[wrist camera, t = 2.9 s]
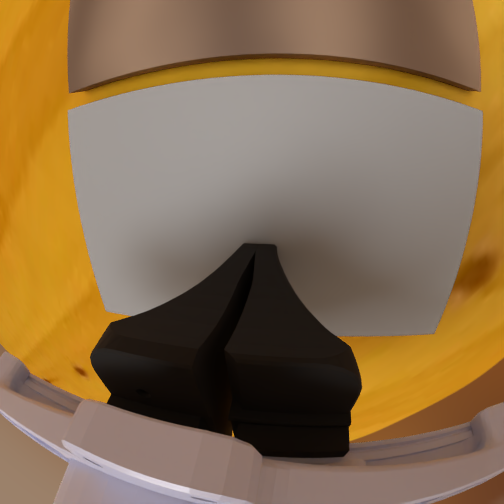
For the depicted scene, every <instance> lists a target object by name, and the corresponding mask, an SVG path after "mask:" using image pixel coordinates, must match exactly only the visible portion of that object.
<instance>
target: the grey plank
mask: <svg viewBox="0 0 504 504" xmlns="http://www.w3.org/2000/svg"><path fill="white" fill-rule="evenodd" d="M68 124H69V140H70V151H71V161H72V169H73V177H74V184H75V190H76V196H77V202H78V208H79V213H80V218H81V223H82V227H83V232H84V236H85V241H86V245H87V249H88V253H89V257H90V260H91V264H92V268H93V271H94V275H95V278H96V281H97V285H98V288H99V291H100V294H101V297H102V300H103V303H104V306H105V309H106V311H108V312H113V313H118V314H123V315H129V316H134V315H137V314H140V313H143V312H145V311H148V310H150V309H153V308H155V307H157V306H160V305H162V304H164V303H166V302H168V301H170V300H172V299H173V298H175V297H177V296H179V295H181V294H183V293H184V292H186V291H188V290H189V289H191V288H192V287H194V286H195V285H197V284H198V283H200V282H201V281H203V280H204V279H205V278H207V277H208V276H209V275H210V274H211V273H213V272H214V271H215V270H216V269H217V268H218V267H220V266H221V265H222V264H223V263H224V262H225V261H226V260H227V259H228V258H229V257H230V256H231V255H232V254H233V253H234V252H235V251H236V250H237V249H238V248H239V247H240V246H241V245H242V244H243V243H251V244H274V245H275V246H276V247H277V254H278V257H279V261H280V263H281V266H282V268H283V271H284V273H285V275H286V277H287V279H288V281H289V283H290V284H291V286H292V288H293V290H294V291H295V293H296V294H297V296H298V297H299V298H300V300H301V301H302V303H303V304H304V305H305V306H306V308H307V309H308V310H309V311H310V312H311V313H312V314H313V315H314V316H315V318H316V319H317V320H318V321H319V322H320V323H321V324H322V325H323V326H324V327H325V328H326V329H328V330H329V331H330V332H331V333H333V334H334V335H335V336H402V335H424V334H434V333H435V331H436V329H437V326H438V324H439V322H440V319H441V317H442V314H443V312H444V309H445V307H446V304H447V301H448V299H449V296H450V293H451V290H452V288H453V285H454V282H455V279H456V276H457V273H458V269H459V266H460V263H461V259H462V256H463V252H464V249H465V245H466V241H467V237H468V233H469V228H470V224H471V219H472V214H473V209H474V204H475V198H476V192H477V185H478V178H479V170H480V160H481V148H482V127H483V111H481V110H478V109H475V108H472V107H470V106H467V105H464V104H461V103H458V102H455V101H451V100H448V99H445V98H441V97H438V96H434V95H431V94H427V93H423V92H419V91H415V90H410V89H406V88H401V87H396V86H391V85H386V84H380V83H374V82H367V81H360V80H353V79H344V78H334V77H322V76H304V75H249V76H231V77H219V78H209V79H200V80H192V81H185V82H178V83H172V84H166V85H161V86H155V87H150V88H146V89H141V90H136V91H132V92H128V93H124V94H120V95H116V96H112V97H109V98H105V99H102V100H98V101H95V102H92V103H89V104H85V105H82V106H79V107H76V108H74V109H71V110H68Z"/></svg>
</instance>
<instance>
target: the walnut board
mask: <svg viewBox="0 0 504 504" xmlns="http://www.w3.org/2000/svg"><path fill="white" fill-rule="evenodd" d="M256 58H301V59H320V60H332V61H342V62H351V63H358V64H365V65H371V66H377V67H383V68H388V69H393V70H398V71H402V72H407V73H411V74H415V75H419V76H423V77H427V78H430V79H434V80H437V81H440V82H444V83H447V84H450V85H453V86H456V87H459V88H462V89H464V90H469V91H479V92H481V69H480V52H479V41H478V32H477V25H476V18H475V12H474V7H473V2H472V0H70V11H69V24H68V83H69V93H74V92H82V91H86V90H89V89H92V88H95V87H98V86H101V85H104V84H108V83H111V82H114V81H118V80H121V79H125V78H129V77H132V76H136V75H140V74H145V73H149V72H153V71H158V70H163V69H168V68H173V67H179V66H185V65H192V64H199V63H206V62H215V61H225V60H238V59H256Z"/></svg>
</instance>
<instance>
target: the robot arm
mask: <svg viewBox="0 0 504 504" xmlns="http://www.w3.org/2000/svg"><path fill="white" fill-rule="evenodd" d="M90 359H91V364H92V366H93V368H94V370H95V372H96V373H97V375H98V376H99V378H100V379H101V380H102V382H103V383H104V385H105V386H106V387H107V389H108V390H109V391H110V393H111V396H110V398H109V400H108V402H107V404H106V403H103V402H99V401H95V400H91V399H87V400H85V399H83V398H80V397H78V396H76V395H73V394H71V393H69V392H67V391H65V390H62V389H60V388H58V387H56V386H54V385H52V384H50V383H48V382H46V381H44V380H42V379H40V378H38V377H37V376H35V375H33V374H31V373H30V372H29V370H28V369H27V367H26V366H25V365H24V364H23V363H22V362H21V361H20V360H19V359H18V358H16V357H15V356H13V355H11V354H10V353H8V352H5V351H4V353H3V354H2V356H1V357H0V413H1V414H2V415H3V416H4V417H5V418H6V419H7V420H9V421H10V422H11V423H12V424H13V425H14V426H16V427H17V428H18V429H20V430H21V431H22V432H24V433H25V434H26V435H28V436H29V437H30V438H32V439H33V440H35V441H36V442H37V443H39V444H40V445H42V446H43V447H45V448H46V449H48V450H49V451H51V452H52V453H54V454H55V455H57V456H59V457H60V458H62V459H63V460H65V461H67V462H68V463H69V465H68V467H67V470H66V472H65V475H64V477H63V479H62V482H61V484H60V487H59V489H58V492H57V495H56V497H55V500H54V503H53V504H431V503H434V502H437V501H440V500H442V499H445V498H448V497H450V496H453V495H456V494H458V493H461V492H463V491H466V490H468V489H470V488H473V487H475V486H477V485H479V484H481V483H483V482H485V481H487V480H489V479H490V478H492V477H494V476H496V475H498V474H500V473H501V472H503V471H504V402H502V403H499V404H496V405H494V406H491V407H488V408H486V409H484V410H482V411H481V412H479V413H478V414H477V415H476V416H475V417H474V418H473V419H472V420H471V422H468V423H464V424H461V425H457V426H454V427H450V428H446V429H442V430H438V431H433V432H429V433H424V434H419V435H414V436H408V437H403V438H396V439H389V440H381V441H372V442H361V443H349V426H350V425H351V412H350V411H351V409H352V408H353V406H354V404H355V402H356V400H357V399H358V397H359V395H360V392H361V389H362V384H361V376H360V372H359V369H358V365H357V362H356V359H355V357H354V354H353V352H352V349H351V347H350V346H349V345H347V344H346V343H345V342H343V341H342V340H341V339H339V338H338V337H337V336H335V335H334V334H333V333H331V332H330V331H329V330H328V329H326V328H325V327H324V326H323V325H322V324H321V323H320V322H319V321H318V320H317V319H316V318H315V316H314V315H313V314H312V313H311V312H310V311H309V310H308V309H307V308H306V306H305V305H304V304H303V303H302V301H301V300H300V298H299V297H298V296H297V294H296V293H295V291H294V290H293V288H292V286H291V284H290V283H289V281H288V279H287V277H286V275H285V273H284V271H283V268H282V266H281V263H280V261H279V257H278V254H277V247H276V246H275V245H274V244H251V243H243V244H242V245H241V246H240V247H239V248H238V249H237V250H236V251H235V252H234V253H233V254H232V255H231V256H230V257H229V258H228V259H227V260H226V261H225V262H224V263H223V264H222V265H221V266H220V267H218V268H217V269H216V270H215V271H214V272H213V273H211V274H210V275H209V276H208V277H207V278H205V279H204V280H203V281H201V282H200V283H198V284H197V285H195V286H194V287H192V288H191V289H189V290H188V291H186V292H184V293H183V294H181V295H179V296H177V297H175V298H173V299H172V300H170V301H168V302H166V303H164V304H162V305H160V306H157V307H155V308H153V309H150V310H148V311H145V312H143V313H140V314H137V315H134V316H131V317H128V318H124V319H121V320H118V321H114V322H111V323H110V325H109V326H108V327H107V329H106V331H105V332H104V334H103V335H102V337H101V338H100V340H99V341H98V343H97V345H96V346H95V348H94V349H93V351H92V353H91V356H90ZM232 430H233V433H234V437H235V438H234V437H232Z"/></svg>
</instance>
